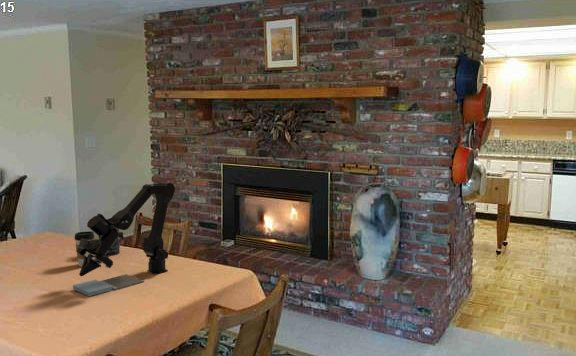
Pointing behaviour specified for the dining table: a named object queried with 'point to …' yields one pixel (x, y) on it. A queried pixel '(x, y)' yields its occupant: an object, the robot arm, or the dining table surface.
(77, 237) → the coffee cup
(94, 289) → the grey rectangular slab
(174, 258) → the dining table surface
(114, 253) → the storage jar
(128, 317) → the dining table surface
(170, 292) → the dining table surface
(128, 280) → the plate
